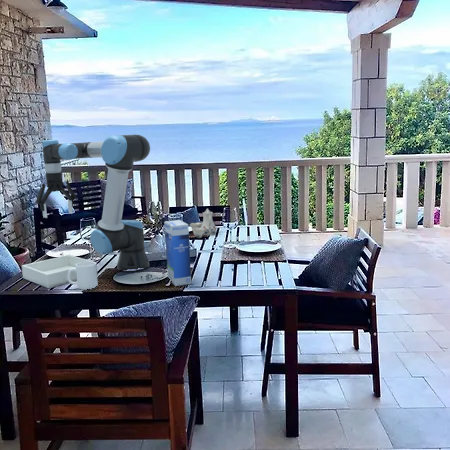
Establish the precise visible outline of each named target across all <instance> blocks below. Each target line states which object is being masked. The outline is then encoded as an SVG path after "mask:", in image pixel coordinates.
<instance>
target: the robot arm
mask: <svg viewBox="0 0 450 450" xmlns="http://www.w3.org/2000/svg"><path fill="white" fill-rule="evenodd" d="M59 142H60V141H59V140H58V139H45V140H43V141H42V155H43V162H44V170H45V181H46V183H44V182H43V183H40V184H39V187H40V189H39V190H38V194H37V196H36V199H35V203H36V204H38V205H39V207H40V211H41V212H42V216H43V217H42V218H43V219H44V218H45V219H48V213H47V204H46V201H47V200H48V199H49V197H50V195H51V193H52V192H53V193H54V192H61V193H62V194H63V195H64V196H65V197H66V198H67V199H68V200H67V206H68V207H67V208H68V209H67V210H68V214H69V215H70V214H71V215H73V214H74V211H73V210H74V209H73V207H74V206H75V205H74V204H75V203H74V200H75V199H77V196H76V194H75V192H74V190H73V188H72V187H71V185H70V181H69V180H64V181H63V173H62V163H61V161H62V160H63V161H64V160H65V161H70V160H75V159H76V160H77V159H79V160H80V159H92V158H95V159H96V158H101V159H102V161H103V162H104V164H105V166H106V168H107V178H106V183H105V193H104V199H103V207H102V209H103V210H102V214H101V219H100V220H99V221H98V222H97V226H96V227H97V228H96V229H94V230H92V231H91V232H90V238H89V239H90V244H91V245H92V247H93V249H94V251H95V252H96V253H98V254H100V255H107V254H109V255H110V254H112V253H115V252H118V251H119V256H118V261H117V263H116V266H117V267H116V268H117V270H118V271H120V270H127V269H138V268H147V267H148V268H149V267H150V261H149V258H148V256H147V253H146V251H145V236H144V235H145V233H144V232H145V231H144V226H143V222H142V221H140V220H135V219H122V218H123V212H124V206H125V205H124V204H125V199H126V193H127V185H128V179H129V173H130V171H132V170H133V168H134V162H141V161H143V160H145V159H146V158H147V157H148V156H149V154H150V152H151V144H150V142H149V140H148V139H147V138H146V137H145V136H143V135H141V134H115V135H110V136H108V137H107V138H105V139H104V141H88V142H87V141H85V142H65V143H59ZM63 186H65V188H64V187H63ZM46 188H47V189H46ZM148 268H147V269H148Z"/></svg>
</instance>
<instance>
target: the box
mask: <svg viewBox="0 0 450 450" xmlns="http://www.w3.org/2000/svg"><path fill="white" fill-rule="evenodd" d="M89 261H90V262H94V261H92V260H89V259H86V258H82V257H78V256H75V255H71V254H66V255H63V256H59V257H58V256H57V257H53V258H49V259H44V260H41V261H36V262H31V263H28V264H27V263H26V264H21V271H22V279H25V280H26V281H29V282H32V283H35V284H37V285H39V286H42V287H45V288H47V289H51V288H55V287H59V286H62V285H66V284H71V283H70V282H69V281H68V276H67V275H68V271H69V270H70V269H71V268H76V264H78V263H81V262H89ZM96 268H97V269H98V263H97V262H96ZM97 276H98V273H97ZM70 279H71V281H73V282H77V274H76V271H71V273H70Z"/></svg>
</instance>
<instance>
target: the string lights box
mask: <svg viewBox="0 0 450 450" xmlns="http://www.w3.org/2000/svg"><path fill="white" fill-rule="evenodd" d="M189 231H190V230H189V224H188V223H186V222H184V221H183V220H182V219H177V220H176V219H175V220H166V221H164V237H165V238H164V239H165V250H166V251H165V253H166V266H167V269H166V270H167V279H168V278H169V279H170V280H171V281H172V282H171V281H170V280H169V279H168V280H169V281H170V282H171V283H172V285H174V286H175V287H178V286H185V285H186V286H187V285H190V284H192V272H191V269H192V268H191V251H190V233H189Z"/></svg>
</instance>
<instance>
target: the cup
mask: <svg viewBox="0 0 450 450" xmlns="http://www.w3.org/2000/svg"><path fill="white" fill-rule="evenodd" d="M90 261H91V260H89V262H81V263H78V264H76V268H71V269H70V270H69V271H68V275H67V276H68V281H69V282H70V283H69V284H70V285H74V286H75V285H76V286H77V288H78V289H79V290H82V291H88V290H87V289H90V290H93V289H92V288H94V289H96V288H97V287H98V285H99V282H98V275H97V274H98V267H97V268H96V263H97V261H93V262H90ZM71 271H76V274H77V281H74V282H73V281H71V279H70V273H71ZM96 286H97V287H96ZM95 287H96V288H95Z"/></svg>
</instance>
